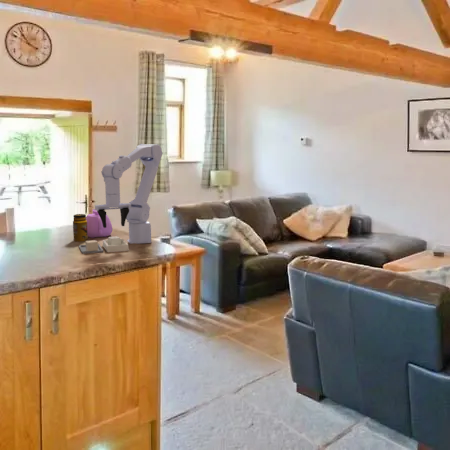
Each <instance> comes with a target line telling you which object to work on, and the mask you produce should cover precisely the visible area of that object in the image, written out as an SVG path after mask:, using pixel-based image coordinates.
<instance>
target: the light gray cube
mask: <svg viewBox="0 0 450 450" xmlns="http://www.w3.org/2000/svg"><path fill="white" fill-rule="evenodd" d="M120 239H121V237H119V236H117V235H116V236H109V237H108V236H107V240H108V245H121V240H120Z"/></svg>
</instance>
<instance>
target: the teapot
mask: <svg viewBox="0 0 450 450" xmlns="http://www.w3.org/2000/svg"><path fill="white" fill-rule="evenodd" d="M107 214H108V213H106V228H104V227H103V224H102V220H101V218H100V216H99V214H98V212H97V211H96V210H95V208H94V209H92V213H88V214H87V215H86V220H87V233H88V238H90V239H95V238H100V237H101V238H108V236H109V237H110V235H111V234H112V232H113V224H112V221H111V219H110V218H109V215H107Z"/></svg>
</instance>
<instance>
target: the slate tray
mask: <svg viewBox="0 0 450 450" xmlns="http://www.w3.org/2000/svg"><path fill="white" fill-rule="evenodd" d="M78 248H79V250H80V253H81V254H83V255H84V254H86V255H87V254H97V253H99V254H100V253H104V250H105V249H103V247H102V246H101V245H100V244H99V243H98V250H97V251H86V244H81V245H78Z"/></svg>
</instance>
